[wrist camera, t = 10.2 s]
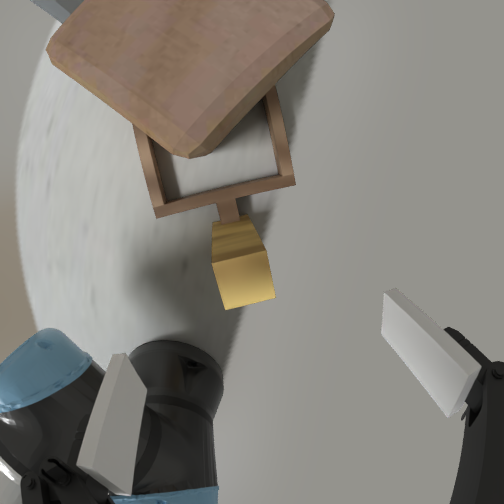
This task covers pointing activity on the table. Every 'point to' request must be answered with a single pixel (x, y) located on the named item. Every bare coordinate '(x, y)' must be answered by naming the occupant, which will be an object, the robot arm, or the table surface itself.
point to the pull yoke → (230, 216)
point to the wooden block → (185, 60)
